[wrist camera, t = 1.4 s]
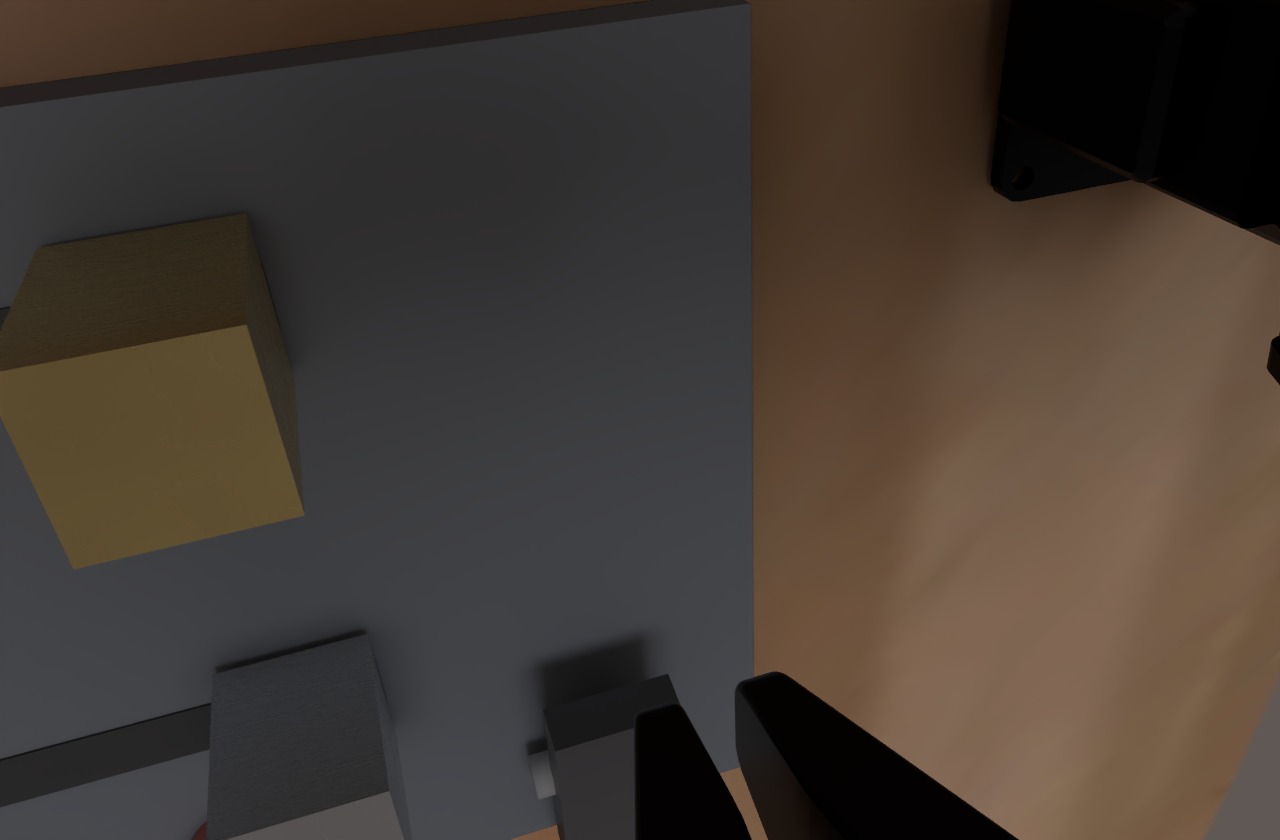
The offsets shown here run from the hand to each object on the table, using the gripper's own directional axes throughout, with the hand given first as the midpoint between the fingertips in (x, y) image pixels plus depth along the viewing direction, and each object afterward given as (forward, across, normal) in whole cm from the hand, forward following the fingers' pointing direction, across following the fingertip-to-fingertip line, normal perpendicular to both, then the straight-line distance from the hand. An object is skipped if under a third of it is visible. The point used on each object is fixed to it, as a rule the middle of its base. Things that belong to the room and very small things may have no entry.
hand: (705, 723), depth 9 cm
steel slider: (+11, +5, +9) cm, 15 cm away
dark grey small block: (+11, -1, +12) cm, 17 cm away
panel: (+12, +5, +6) cm, 14 cm away
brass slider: (+11, +5, 0) cm, 12 cm away
